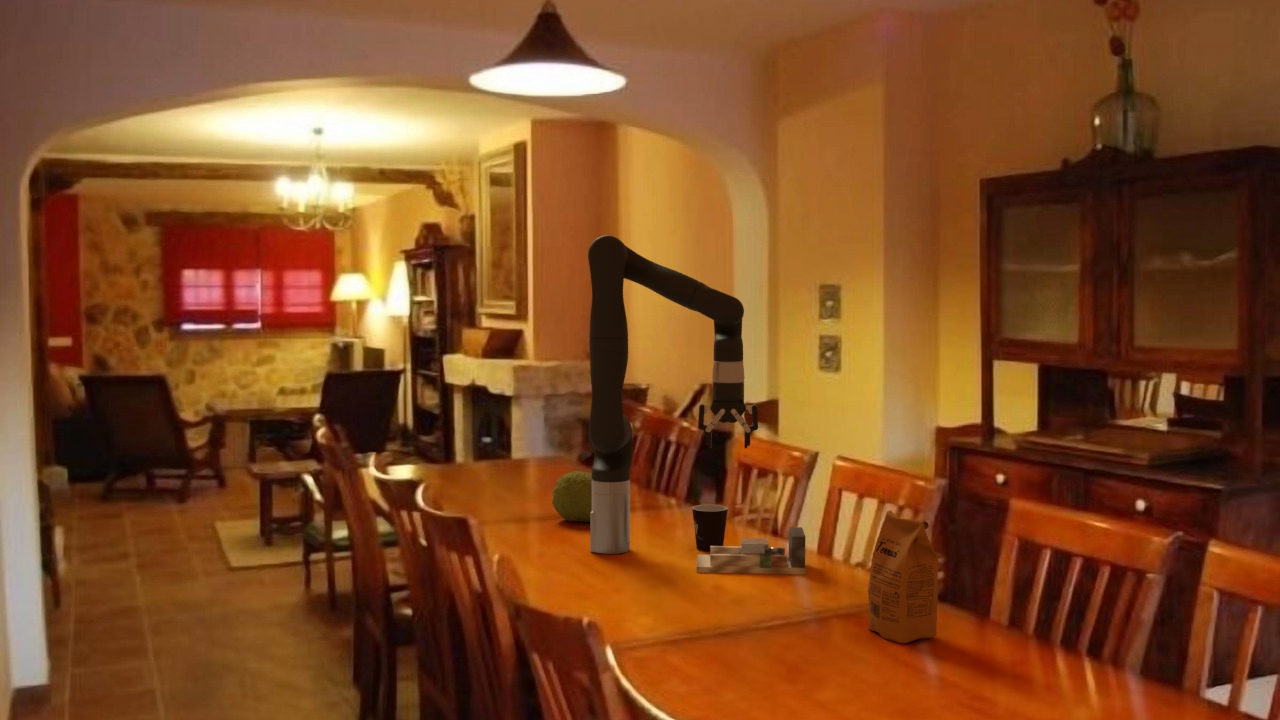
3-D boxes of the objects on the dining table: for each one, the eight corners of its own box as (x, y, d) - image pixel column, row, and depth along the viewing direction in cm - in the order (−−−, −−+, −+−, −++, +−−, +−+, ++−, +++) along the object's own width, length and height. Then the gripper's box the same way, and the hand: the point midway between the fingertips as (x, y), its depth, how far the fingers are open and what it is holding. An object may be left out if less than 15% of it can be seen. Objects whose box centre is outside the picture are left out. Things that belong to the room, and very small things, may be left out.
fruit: (605, 514, 319) (622, 470, 313) (599, 543, 307) (616, 498, 300) (550, 496, 319) (565, 452, 312) (541, 524, 306) (557, 479, 299)
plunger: (741, 566, 253) (742, 546, 253) (741, 557, 262) (741, 538, 262) (782, 567, 252) (782, 547, 252) (780, 557, 261) (780, 538, 261)
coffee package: (904, 622, 216) (906, 507, 215) (944, 641, 204) (946, 519, 203) (859, 627, 212) (860, 510, 211) (897, 647, 201) (899, 523, 199)
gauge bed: (696, 572, 254) (696, 535, 253) (697, 559, 266) (697, 524, 265) (805, 574, 252) (805, 537, 252) (801, 561, 264) (801, 526, 264)
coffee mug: (725, 553, 272) (725, 512, 271) (689, 551, 274) (689, 510, 273) (731, 543, 283) (731, 503, 283) (696, 541, 285) (696, 501, 284)
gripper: (697, 381, 269) (697, 449, 270) (758, 381, 267) (758, 450, 268) (699, 378, 276) (698, 445, 277) (758, 379, 275) (757, 446, 276)
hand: (728, 447), depth 273 cm, fingers open, 8 cm apart
